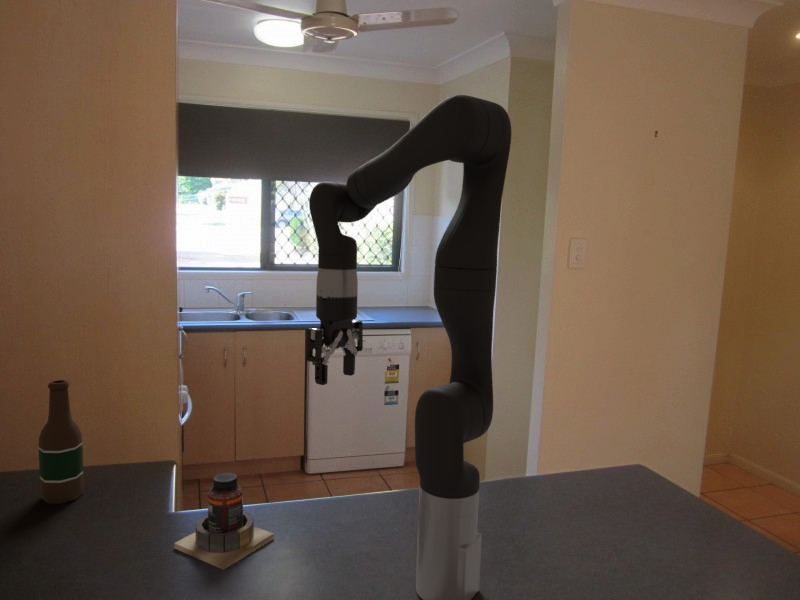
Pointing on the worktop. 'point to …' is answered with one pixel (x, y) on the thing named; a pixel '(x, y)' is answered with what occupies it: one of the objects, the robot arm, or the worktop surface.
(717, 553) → the worktop surface
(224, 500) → the supplement bottle
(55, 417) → the beer bottle
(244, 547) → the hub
